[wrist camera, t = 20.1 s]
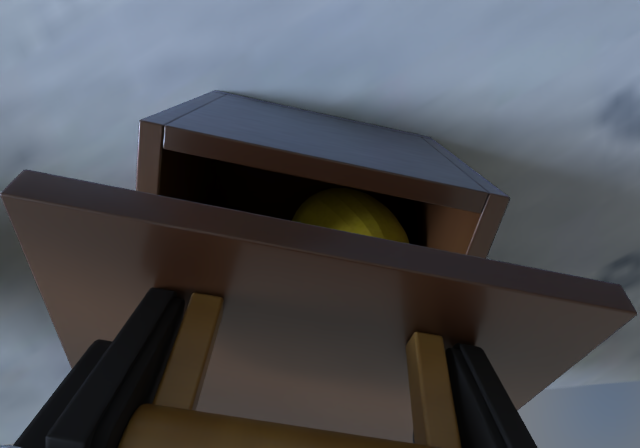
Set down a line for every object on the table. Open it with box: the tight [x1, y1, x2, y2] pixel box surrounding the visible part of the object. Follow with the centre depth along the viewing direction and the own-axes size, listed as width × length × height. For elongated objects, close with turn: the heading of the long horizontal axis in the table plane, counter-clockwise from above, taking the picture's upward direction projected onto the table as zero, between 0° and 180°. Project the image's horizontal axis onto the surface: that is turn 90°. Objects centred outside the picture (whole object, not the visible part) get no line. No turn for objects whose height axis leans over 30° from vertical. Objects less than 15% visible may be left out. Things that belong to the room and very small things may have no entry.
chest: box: [136, 90, 510, 259], centre depth 22 cm, size 15×13×11 cm
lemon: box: [292, 188, 409, 244], centre depth 21 cm, size 6×6×8 cm
